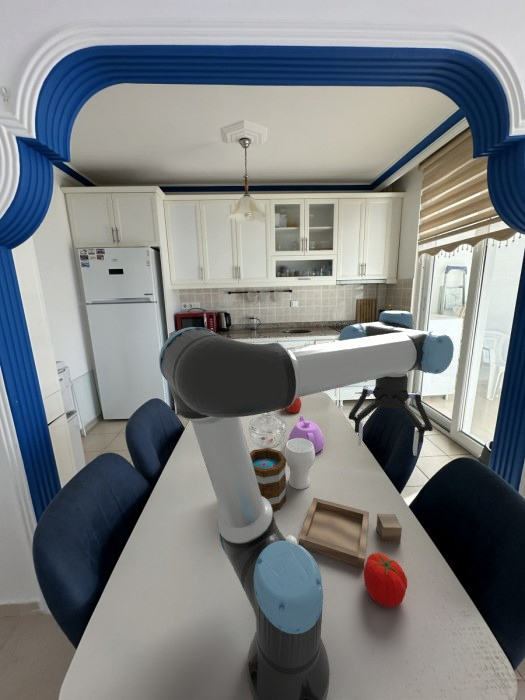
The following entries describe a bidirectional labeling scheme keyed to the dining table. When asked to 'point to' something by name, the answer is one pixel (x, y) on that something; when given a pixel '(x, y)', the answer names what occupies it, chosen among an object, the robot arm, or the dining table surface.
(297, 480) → the cup
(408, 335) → the robot arm
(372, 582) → the tomato
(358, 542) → the tray
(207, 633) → the dining table surface
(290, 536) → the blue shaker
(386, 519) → the walnut block
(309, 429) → the teapot
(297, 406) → the apple
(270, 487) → the mug
